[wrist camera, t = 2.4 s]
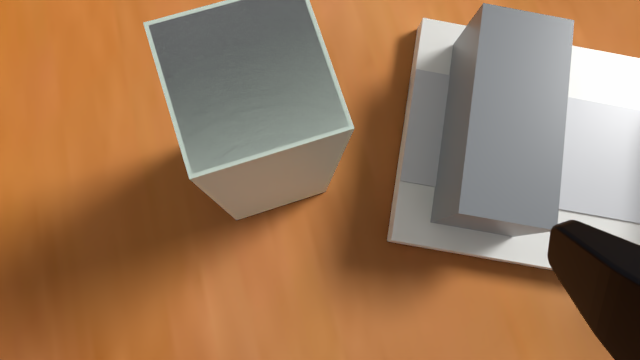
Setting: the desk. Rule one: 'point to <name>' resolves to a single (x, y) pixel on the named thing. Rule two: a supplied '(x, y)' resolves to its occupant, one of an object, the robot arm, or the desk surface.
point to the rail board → (515, 138)
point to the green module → (252, 101)
